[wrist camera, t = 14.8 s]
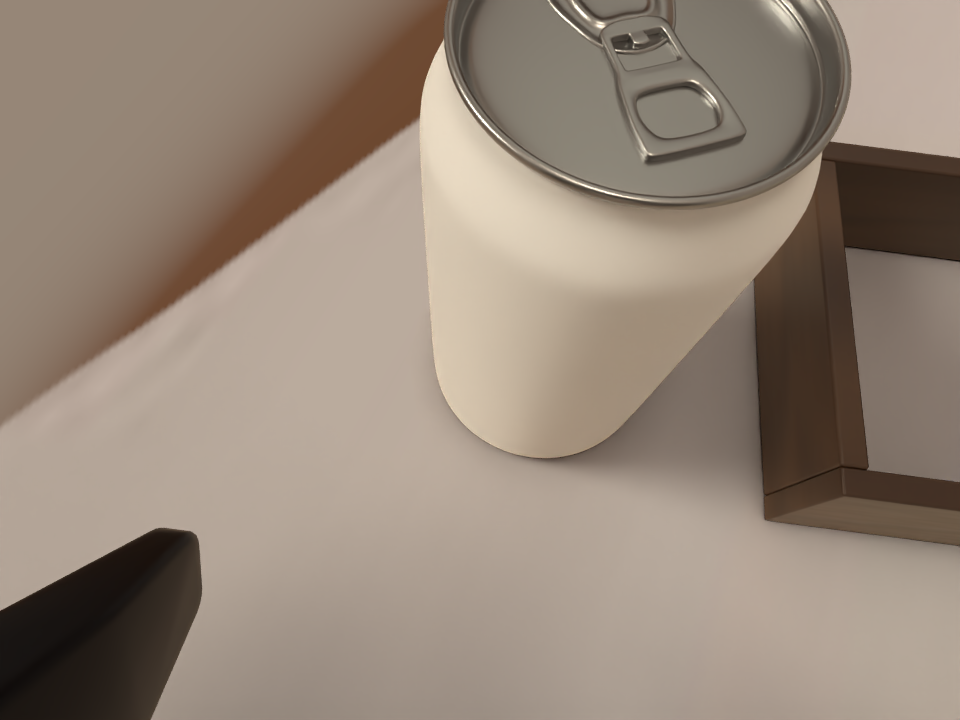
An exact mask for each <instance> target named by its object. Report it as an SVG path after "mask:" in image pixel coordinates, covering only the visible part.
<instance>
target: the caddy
mask: <svg viewBox="0 0 960 720" xmlns="http://www.w3.org/2000/svg"><path fill="white" fill-rule="evenodd" d="M845 246H852V247H860V248H867V249H875V250H883V251H891V252H898V253H906V254H914V255H922V256H930V257H937V258H945V259H953V260H960V158H955V157H947V156H939V155H932V154H924V153H916V152H908V151H900V150H892V149H885V148H877V147H869V146H861V145H853V144H845V143H837V142H829V143H828V145H827V146H826V147H825V148H824V150H823V151H822V158H821V165H820V170H819V175H818V178H817V182H816V186H815V189H814V192H813V195H812V197H811V200H810V202H809V204H808V206H807V208H806V210H805V212H804V214H803V216H802V217H801V219H800V220H799V222H798V224H797V225H796V227H795V228H794V230H793V231H792V233H791V234H790V236H789V237H788V238H787V240H786V241H785V242H784V243H783V245H782V246H781V247H780V248H779V249H778V251H777V252H776V253H775V254H774V256H773V257H772V258H771V259H770V260H769V262H768V263H767V264H766V265H765V266H764V267H763V269H762V270H761V271H760V272H759V273H758V274H757V275H756V277H755V278H754V283H755V305H756V327H757V349H758V370H759V392H760V414H761V436H762V458H763V480H764V494H765V495H766V496H765V497H764V507H765V519H766V520H768V521H776V522H783V523H791V524H799V525H806V526H814V527H822V528H829V529H837V530H845V531H852V532H860V533H867V534H875V535H883V536H890V537H898V538H906V539H913V540H921V541H928V542H936V543H944V544H951V545H959V546H960V482H953V481H946V480H938V479H930V478H923V477H915V476H907V475H900V474H892V473H884V472H877V471H869V470H867V469H868V467H869V465H868V456H867V447H866V438H865V428H864V419H863V410H862V401H861V392H860V383H859V373H858V364H857V355H856V346H855V337H854V328H853V318H852V309H851V300H850V291H849V282H848V273H847V263H846V254H845Z"/></svg>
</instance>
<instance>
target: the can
mask: <svg viewBox="0 0 960 720" xmlns="http://www.w3.org/2000/svg"><path fill="white" fill-rule="evenodd" d="M850 88H851V61H850V55H849V50H848V46H847V42H846V39H845V36H844V33H843V30H842V28H841V25H840V23H839V21H838V19H837V17H836V15H835V13H834V11H833V9H832V8H831V6H830V4H829V3H828V1H827V0H449V1H448V5H447V9H446V14H445V21H444V40H443V42H442V44H441V46H440V48H439V49H438V51H437V54H436V55H435V58H434V59H433V62H432V64H431V67H430V69H429V72H428V75H427V78H426V81H425V85H424V90H423V95H422V102H421V112H420V158H421V176H422V194H423V210H424V226H425V242H426V257H427V272H428V287H429V301H430V315H431V328H432V341H433V353H434V362H435V369H436V374H437V378H438V381H439V385H440V388H441V390H442V393H443V395H444V397H445V399H446V401H447V403H448V404H449V406H450V408H451V409H452V411H453V412H454V413H455V415H456V416H457V417H458V418H459V420H460V421H461V422H462V423H463V424H464V425H465V426H466V427H467V428H468V429H469V430H470V431H472V432H473V433H474V434H475V435H477V436H478V437H479V438H481V439H482V440H484V441H486V442H487V443H489V444H491V445H493V446H495V447H497V448H499V449H501V450H504V451H507V452H510V453H513V454H517V455H521V456H526V457H533V458H556V457H563V456H569V455H573V454H576V453H579V452H582V451H585V450H587V449H589V448H592V447H594V446H595V445H597V444H599V443H601V442H602V441H604V440H605V439H607V438H608V437H609V436H611V435H612V434H613V433H614V432H615V431H617V430H618V429H619V428H620V427H621V426H622V425H623V424H624V423H625V422H626V421H627V420H628V419H629V417H630V416H631V415H632V414H633V413H634V412H635V411H636V410H637V409H638V408H639V407H640V406H641V405H642V403H643V402H644V401H645V400H646V399H647V398H648V397H649V396H650V395H651V394H652V392H653V391H654V390H655V389H656V388H657V387H658V386H659V385H660V384H661V382H662V381H663V380H664V379H665V378H666V377H667V376H668V375H669V374H670V372H671V371H672V370H673V369H674V368H675V367H676V366H677V365H678V364H679V362H680V361H681V360H682V359H683V358H684V357H685V356H686V355H687V354H688V352H689V351H690V350H691V349H692V348H693V347H694V346H695V345H696V343H697V342H698V341H699V340H700V339H701V338H702V337H703V336H704V334H705V333H706V332H707V331H708V330H709V329H710V328H711V327H712V325H713V324H714V323H715V322H716V321H717V320H718V319H719V318H720V316H721V315H722V314H723V313H724V312H725V311H726V310H727V309H728V307H729V306H730V305H731V304H732V303H733V302H734V301H735V300H736V298H737V297H738V296H739V295H740V294H741V293H742V292H743V290H744V289H745V288H746V287H747V286H748V285H749V284H750V282H751V281H752V280H753V279H754V278H755V277H756V275H757V274H758V273H759V272H760V271H761V270H762V269H763V267H764V266H765V265H766V264H767V263H768V262H769V260H770V259H771V258H772V257H773V256H774V254H775V253H776V252H777V251H778V249H779V248H780V247H781V246H782V245H783V243H784V242H785V241H786V240H787V238H788V237H789V236H790V234H791V233H792V231H793V230H794V228H795V227H796V225H797V224H798V222H799V220H800V219H801V217H802V216H803V214H804V212H805V210H806V208H807V206H808V204H809V202H810V200H811V197H812V195H813V192H814V189H815V186H816V182H817V178H818V175H819V170H820V165H821V158H822V151H823V150H824V148H825V147H826V146H827V145H828V143H829V142H830V140H831V139H832V137H833V136H834V134H835V133H836V131H837V129H838V127H839V125H840V123H841V121H842V119H843V116H844V114H845V111H846V108H847V104H848V100H849V95H850Z"/></svg>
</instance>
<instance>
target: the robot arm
mask: <svg viewBox="0 0 960 720" xmlns="http://www.w3.org/2000/svg"><path fill="white" fill-rule="evenodd" d="M201 596H202V579H201V565H200V550H199V542H198V538H197V536H196V535H195V534H194V533H192V532H190V531H184V530H177V529H169V528H157V529H154V530H152V531H150V532H148V533H146V534H144V535H142V536H141V537H139V538H137V539H135V540H133V541H131V542H129V543H127V544H125V545H124V546H122V547H120V548H118V549H116V550H114V551H112V552H110V553H108V554H107V555H105V556H103V557H101V558H99V559H97V560H95V561H93V562H91V563H90V564H88V565H86V566H84V567H82V568H80V569H78V570H76V571H75V572H73V573H71V574H69V575H67V576H65V577H63V578H61V579H59V580H58V581H56V582H54V583H52V584H50V585H48V586H46V587H44V588H42V589H41V590H39V591H37V592H35V593H33V594H31V595H29V596H27V597H25V598H24V599H22V600H20V601H18V602H16V603H14V604H12V605H10V606H8V607H7V608H5V609H3V610H1V611H0V720H151V718H152V715H153V713H154V711H155V708H156V706H157V704H158V701H159V699H160V697H161V695H162V692H163V690H164V688H165V685H166V683H167V681H168V678H169V676H170V674H171V671H172V669H173V667H174V664H175V662H176V660H177V658H178V655H179V653H180V651H181V648H182V646H183V644H184V641H185V639H186V637H187V634H188V632H189V630H190V627H191V625H192V623H193V621H194V618H195V616H196V614H197V611H198V608H199V605H200V601H201Z"/></svg>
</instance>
